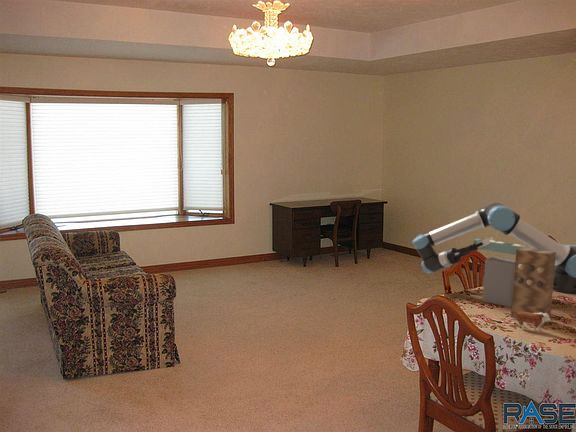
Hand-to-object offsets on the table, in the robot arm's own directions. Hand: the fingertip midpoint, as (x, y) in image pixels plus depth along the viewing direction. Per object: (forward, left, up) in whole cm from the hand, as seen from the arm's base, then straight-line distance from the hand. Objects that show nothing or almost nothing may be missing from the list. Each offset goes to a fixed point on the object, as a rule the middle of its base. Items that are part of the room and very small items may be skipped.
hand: (491, 240), depth 289 cm
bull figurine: (-21, +38, -29) cm, 52 cm away
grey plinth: (-6, +2, -29) cm, 29 cm away
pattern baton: (-4, +2, -5) cm, 6 cm away
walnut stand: (-20, +23, -29) cm, 42 cm away
